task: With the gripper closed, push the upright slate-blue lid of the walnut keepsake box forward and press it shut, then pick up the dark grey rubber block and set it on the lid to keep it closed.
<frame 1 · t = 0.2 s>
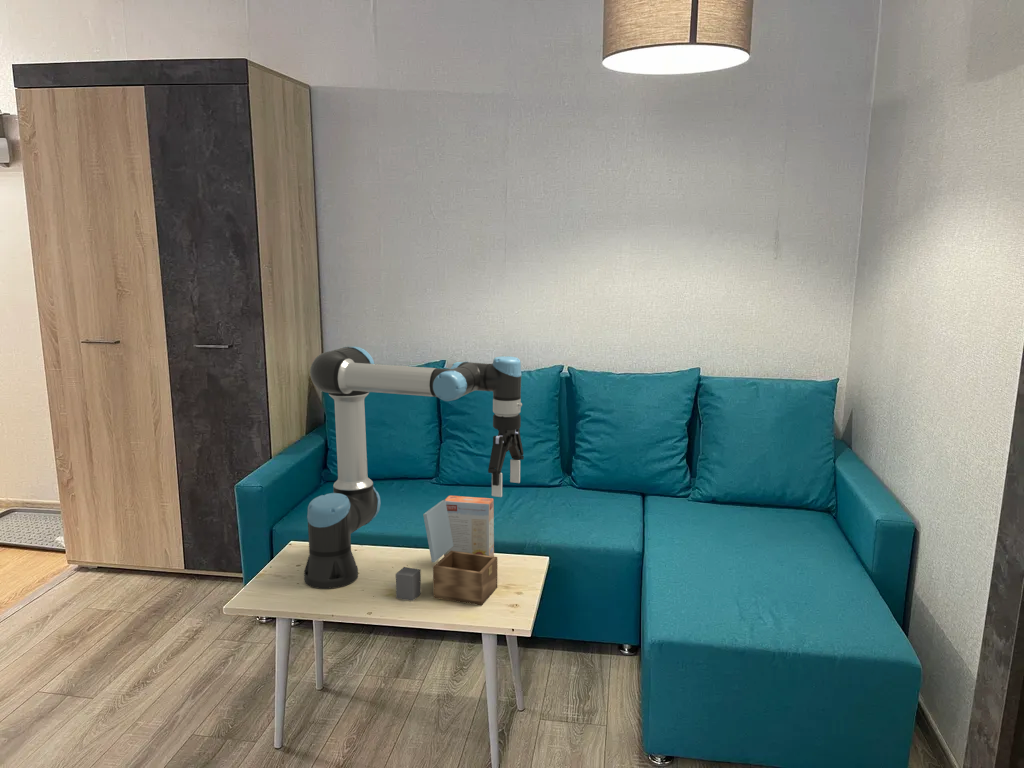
hand: (506, 489, 220), 28 cm above the table, fingers open, 13 cm apart
block: (408, 595, 218), on the table
lid: (438, 530, 219), point 17 cm above the table, hinge at 100.0°
keepsake box: (465, 592, 219), on the table
cracker box: (469, 567, 237), on the table
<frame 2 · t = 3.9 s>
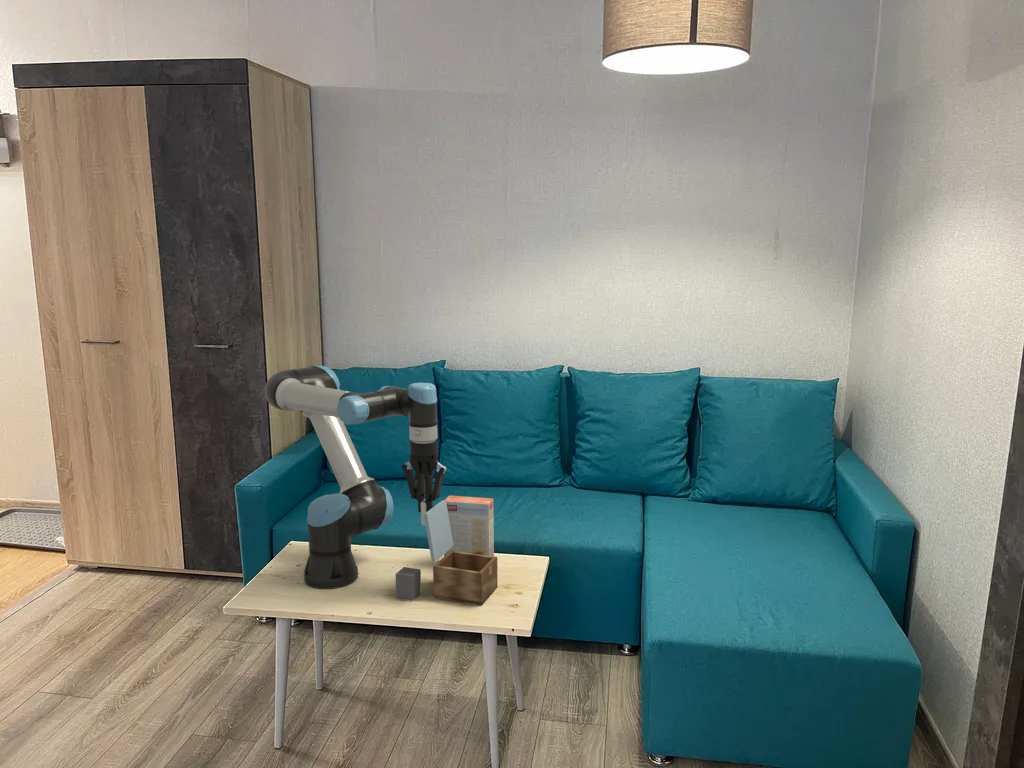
hand: (425, 523, 220), 18 cm above the table, fingers closed
lid: (438, 530, 219), point 17 cm above the table, hinge at 99.4°, touching gripper
everything else where it was.
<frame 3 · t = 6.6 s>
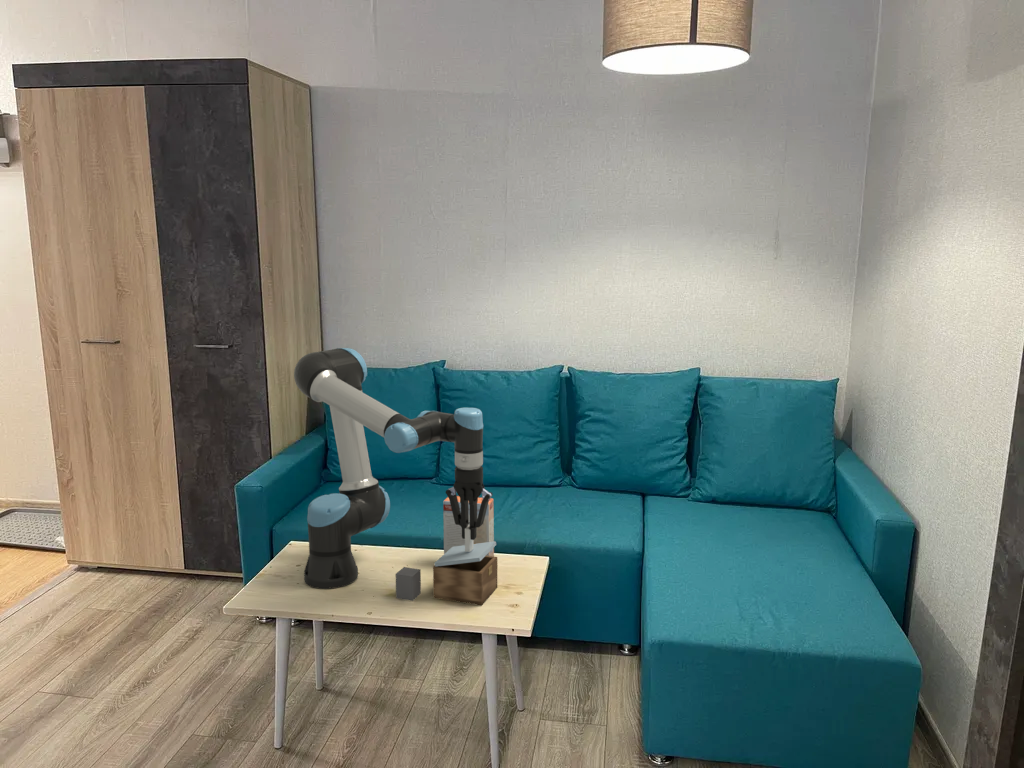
hand: (469, 550, 217), 13 cm above the table, fingers closed
lid: (465, 553, 217), point 11 cm above the table, hinge at 14.5°, touching gripper
everything else where it was.
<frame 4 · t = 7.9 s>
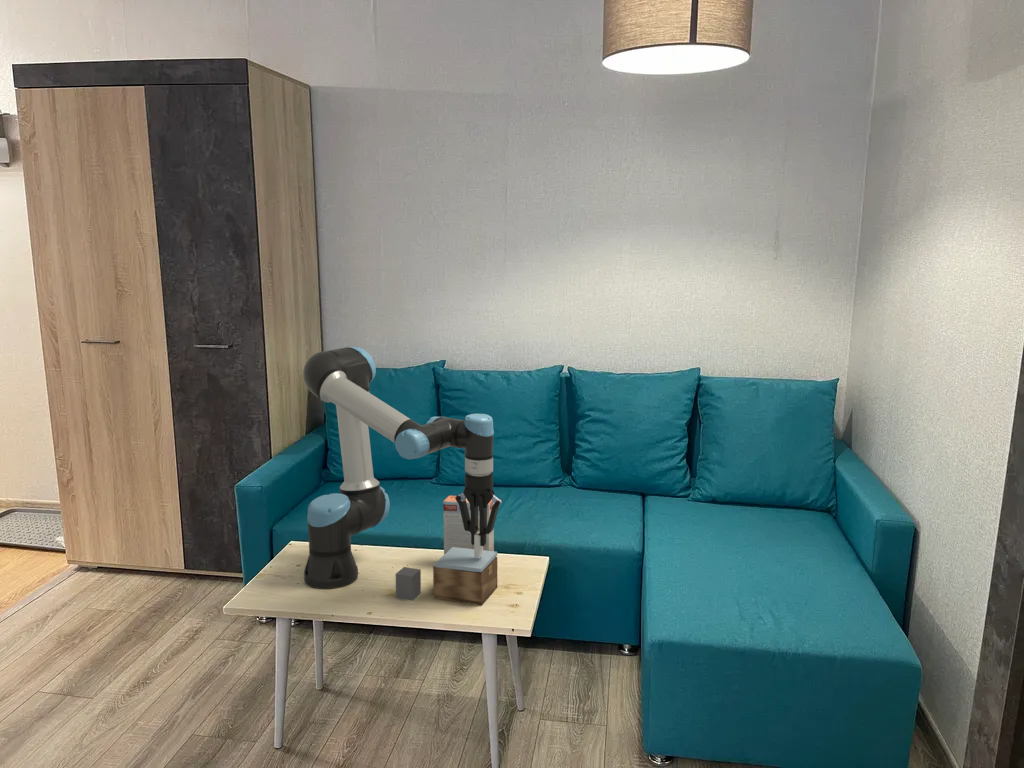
hand: (478, 556, 216), 11 cm above the table, fingers closed
lid: (466, 559, 218), point 10 cm above the table, hinge at 1.9°
everything else where it was.
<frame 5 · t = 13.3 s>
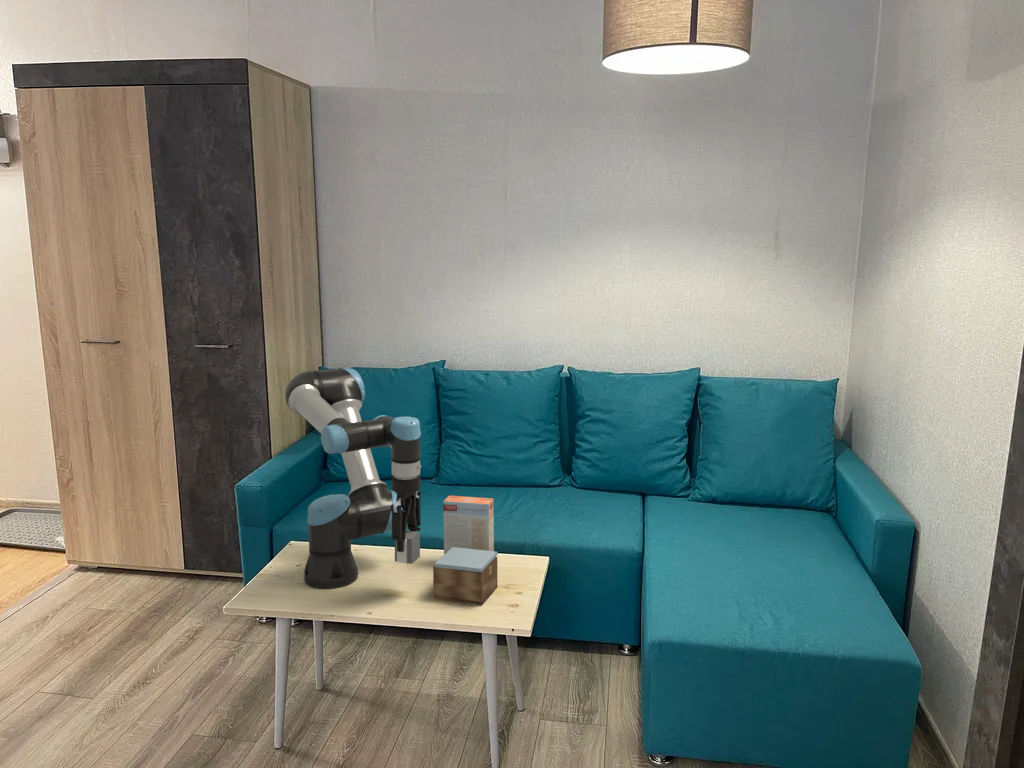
hand: (406, 557, 216), 11 cm above the table, fingers closed on block, 5 cm apart
block: (407, 559, 216), point 10 cm above the table, touching gripper
everything else where it was.
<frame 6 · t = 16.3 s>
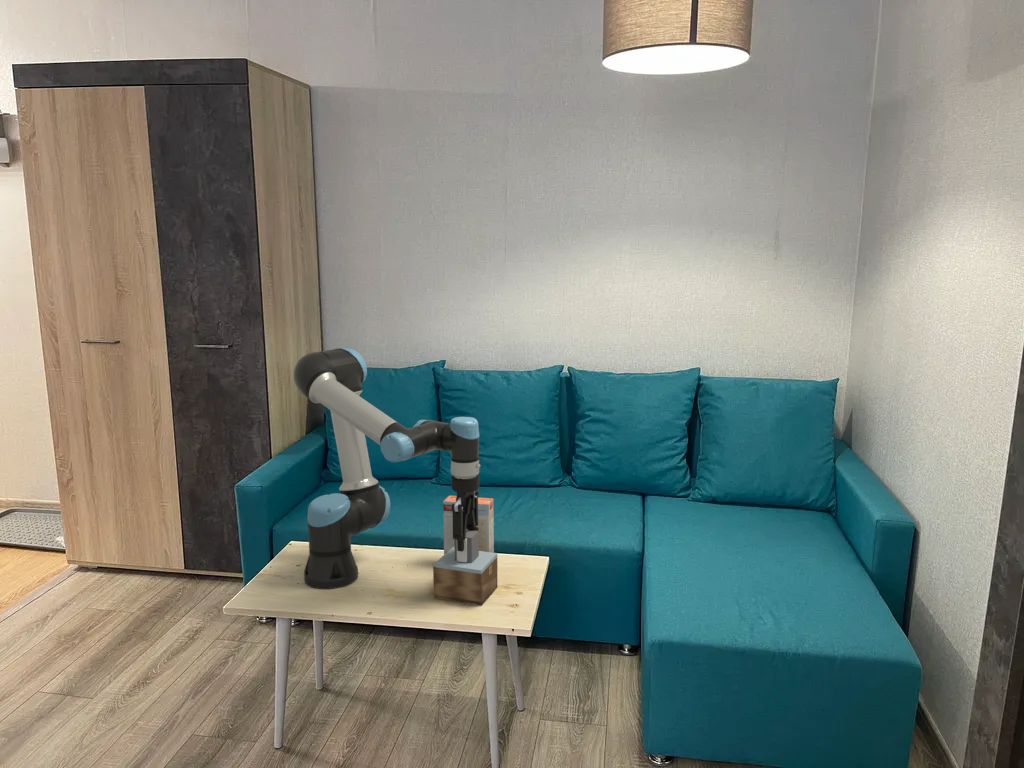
hand: (466, 557, 218), 10 cm above the table, fingers closed on block, lid, 5 cm apart
block: (466, 558, 218), point 10 cm above the table, touching gripper, lid
lid: (466, 560, 218), point 9 cm above the table, hinge at 0.0°, touching block, gripper, keepsake box
everything else where it was.
when the fingers open (10 cm above the table, at t = 16.9 s): block stays where it is, resting on lid.
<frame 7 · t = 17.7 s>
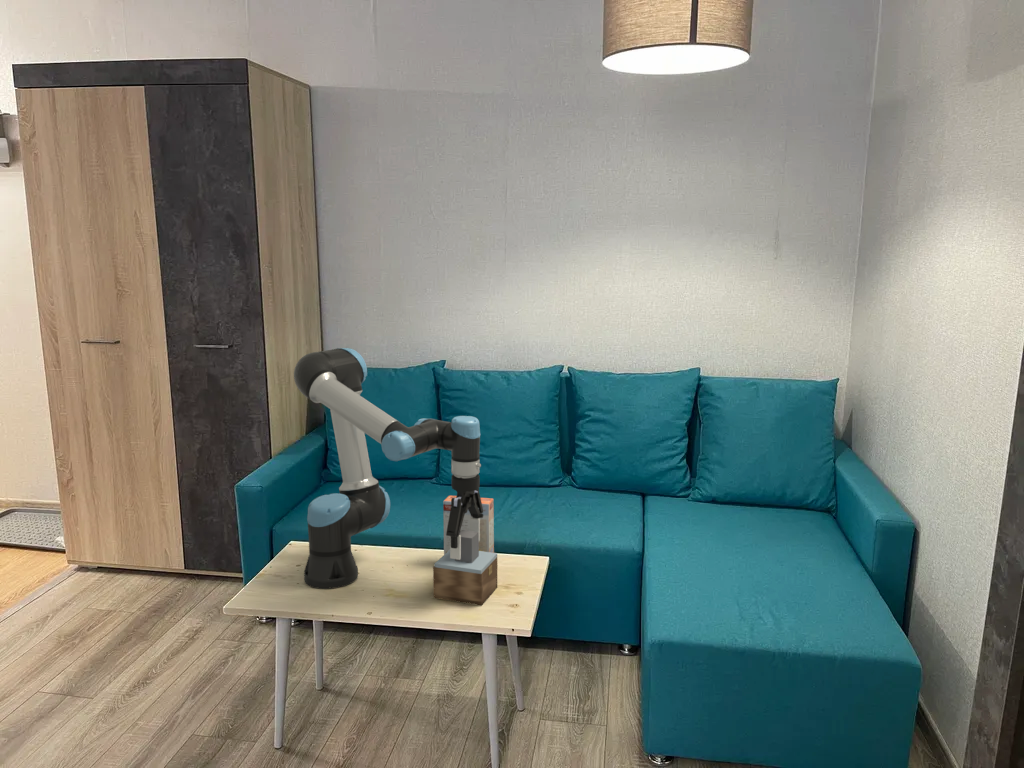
hand: (465, 549, 217), 12 cm above the table, fingers open, 13 cm apart
block: (466, 558, 218), point 10 cm above the table, touching lid
lid: (466, 560, 218), point 9 cm above the table, hinge at 0.0°, touching block, keepsake box
everything else where it was.
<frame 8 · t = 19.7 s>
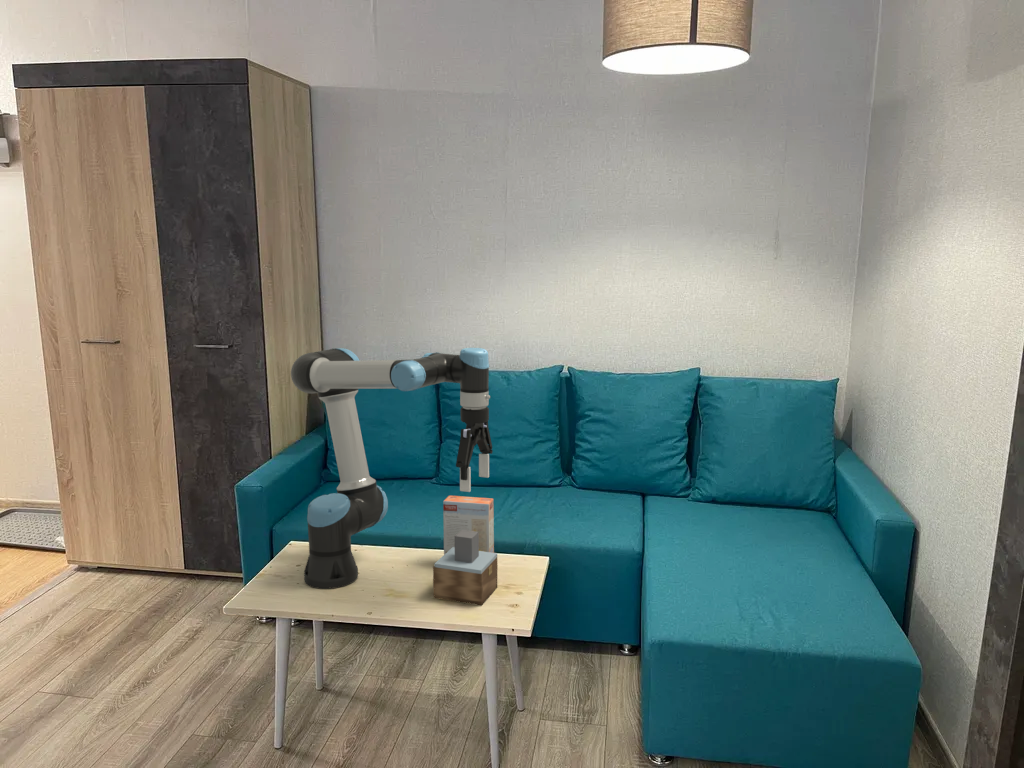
hand: (474, 483, 215), 31 cm above the table, fingers open, 13 cm apart
nothing on the table moved.
at the end: lid at +0° (first picture: +100°); block inside the target area on the keepsake box (0.3 cm from its centre), point 10.0 cm above the keepsake box's base; the gripper is holding nothing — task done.
